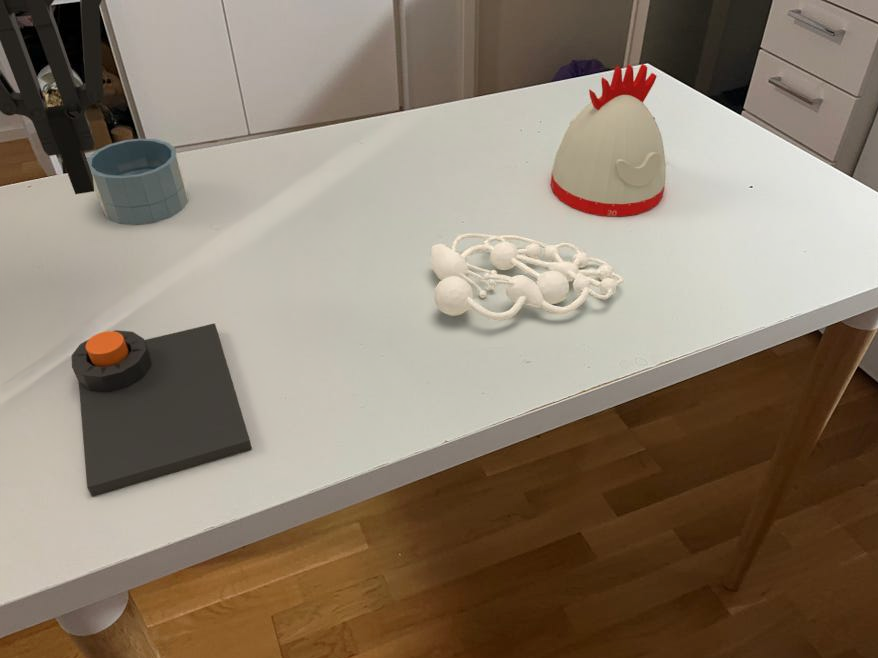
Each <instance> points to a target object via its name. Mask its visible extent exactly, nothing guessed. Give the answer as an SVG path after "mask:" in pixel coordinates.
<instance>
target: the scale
mask: <svg viewBox="0 0 878 658" xmlns="http://www.w3.org/2000/svg"><path fill="white" fill-rule="evenodd" d="M113 331H115V332H118V333H120V334H121V335H122V336H123V338H124V340H125V343H126V345H127V348H128V356H127V358H126V359H124V360H122V361H121V362H119V363H118V364H115V365H111V366H107V367H99V366H95V365H94V364H93V363H92V361H91V359H90V357H89V354H88V352H87V350H86V343H87V341H88V340H89V339H90V338H88V339H86V340H85V341H83V342H81V343H80V344H79V345H78V346H77V348H76V349H75V350H74V351H73V353H72V355H71V358H70V359H71V368H72V370H73V372H74V375H75V377H76V380H77V381H78V393H79V400H80V401H79V404H80V405H79V406H80V415H81V416H80V418H81V428H82V429H81V430H82V440H83V441H82V442H83V453H84V463H85V464H84V466H85V477H86V488H87V490H88V492H89V494H90V496H91V497H97V496H100V495H103V494H107V493H111V492H114V491H117V490H120V489H124V488H127V487H131V486H134V485H137V484H141V483H144V482H147V481H151V480H155V479H159V478H160V477H165V476H168V475H171V474H174V473H175V474H176V473H178V472H182V471H185V470H189V469H192V468H195V467H200V466H201V465H205V464H208V463H213V462H216V461H218V460H222V459H226V458H229V457H232V456H236V455H239V454H242V453H246V452H249V451H252V450H253V447H252V444H251V443H252V442H251V440H250V436H249V433H248V430H247V427H246V423H245V420H244V416H243V413H242V410H241V406H240V403H239V399H238V396H237V393H236V389H235V387H234V382H233V379H232V376H231V373H230V369H229V366H228V363H227V360H226V356H225V352H224V349H223V346H222V341H221V339H220V336H219V333H218V329H217V326H216V323H210V324H206V325H202V326H198V327H193V328H190V329H184V330H181V331H177V332H172V333H168V334H163V335H160V336H155V337H152V338H147V339H145V338H143V337H142V336H140V335H139V334H137V333H136V332H134V331H128V330H113Z"/></svg>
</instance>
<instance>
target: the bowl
mask: <svg viewBox="0 0 878 658" xmlns="http://www.w3.org/2000/svg"><path fill="white" fill-rule="evenodd" d="M87 161H88V164H89V167H90V170H91V173H92V176H93V183H94V192H95V194H96V197H97V199H98V203H99V205H100V208H101V210H102V213H103V215H104V216H105V217H106V218H107V219H108V220H109V221H111V222H114V223H116V224H119V225H128V226H129V225H130V226H140V225H141V226H142V225H148V224H149V225H150V224H155V223H159V222H161V221H165V220H167V219H170V218H172V217H174V216H175V215H177V214H179V213H180V212H182V211H184V209H185V207H186V206H187V205H188V203H189V193H188V190H187V185H186V183H185V179H184V175H183V172H182V171H183V170H182V167H181V164H180V159H179V156H178V152H177V149H176V148H175V146H173V145H172V144H171V143H169V142H167V141H164V140H160V139H158V138H157V139H156V138H134V139H133V138H132V139H125V140H121V141H117V142H113V143H109V144H107V145H105V146H103V147H101V148H99V149H97V150H95V151H94V152H93V153H92V154H91V155H90V156H89V157H88V158H87Z"/></svg>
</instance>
